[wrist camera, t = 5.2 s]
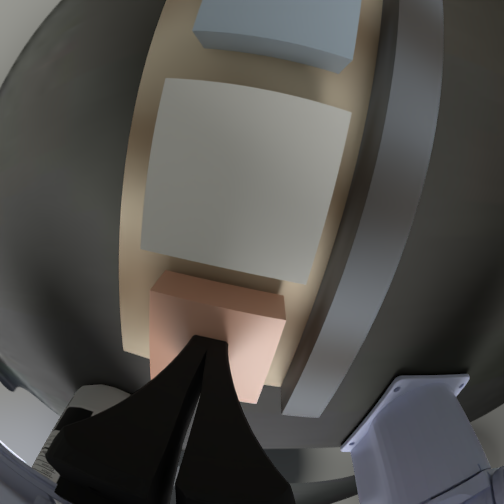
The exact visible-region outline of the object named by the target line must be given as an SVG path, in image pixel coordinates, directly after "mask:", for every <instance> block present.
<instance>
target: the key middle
mask: <svg viewBox="0 0 504 504" xmlns="http://www.w3.org/2000/svg"><path fill="white" fill-rule="evenodd" d="M351 114H352V112H349V111H346V110H343V109H340V108H337V107H333V106H330V105H327V104H323V103H320V102H316V101H312V100H309V99H305V98H301V97H297V96H293V95H288V94H284V93H279V92H275V91H270V90H265V89H259V88H254V87H248V86H242V85H235V84H228V83H221V82H212V81H203V80H192V79H178V78H165V82H164V87H163V91H162V95H161V100H160V104H159V109H158V114H157V119H156V124H155V129H154V135H153V140H152V146H151V152H150V159H149V166H148V173H147V180H146V189H145V198H144V207H143V218H142V231H141V246H140V249H142V250H146V251H151V252H155V253H159V254H164V255H168V256H172V257H177V258H181V259H186V260H190V261H195V262H199V263H204V264H208V265H213V266H217V267H222V268H227V269H231V270H236V271H241V272H245V273H250V274H255V275H260V276H265V277H269V278H274V279H279V280H284V281H289V282H294V283H299V284H304V285H306V284H307V280H308V277H309V274H310V271H311V268H312V265H313V261H314V258H315V255H316V252H317V248H318V245H319V241H320V238H321V235H322V231H323V228H324V224H325V221H326V217H327V213H328V210H329V206H330V202H331V199H332V195H333V191H334V187H335V183H336V179H337V175H338V171H339V167H340V163H341V159H342V155H343V151H344V146H345V142H346V137H347V133H348V128H349V124H350V119H351Z"/></svg>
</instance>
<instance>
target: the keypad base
mask: <svg viewBox="0 0 504 504" xmlns="http://www.w3.org/2000/svg"><path fill="white" fill-rule="evenodd" d="M201 3H202V0H166V3H165V5H164V8H163V10H162V13H161V16H160V18H159V21H158V24H157V27H156V30H155V33H154V36H153V39H152V42H151V46H150V49H149V52H148V56H147V59H146V63H145V66H144V70H143V74H142V78H141V82H140V86H139V90H138V95H137V99H136V104H135V109H134V114H133V119H132V124H131V130H130V136H129V142H128V149H127V156H126V163H125V171H124V180H123V190H122V202H121V216H120V237H119V295H120V316H121V330H122V341H123V350H124V351H127V352H130V353H133V354H136V355H139V356H142V357H145V358H149V359H150V348H149V301H150V289H151V288H152V287H153V285H154V284H155V283H156V282H157V280H158V279H159V278H160V276H161V275H162V274H163V273H164V271H165V270H168V271H172V272H176V273H181V274H185V275H189V276H194V277H198V278H202V279H207V280H211V281H216V282H220V283H225V284H230V285H234V286H239V287H244V288H249V289H254V290H258V291H263V292H268V293H273V294H278V295H283V296H284V302H285V313H286V323H285V326H284V329H283V332H282V335H281V337H280V340H279V343H278V346H277V349H276V352H275V355H274V357H273V360H272V363H271V366H270V369H269V371H268V374H267V377H266V380H265V382H264V385H270V386H277V387H281V413H282V415H289V416H300V417H315V418H319V416H320V415H321V413H322V412H323V410H324V409H325V407H326V406H327V404H328V403H329V401H330V400H331V398H332V396H333V395H334V393H335V392H336V390H337V388H338V387H339V385H340V383H341V382H342V380H343V378H344V376H345V375H346V373H347V371H348V369H349V368H350V366H351V364H352V362H353V361H354V359H355V357H356V355H357V353H358V351H359V349H360V348H361V346H362V344H363V342H364V340H365V338H366V336H367V334H368V332H369V330H370V328H371V326H372V324H373V322H374V320H375V317H376V315H377V313H378V311H379V309H380V307H381V304H382V302H383V300H384V298H385V295H386V293H387V291H388V288H389V286H390V284H391V281H392V279H393V276H394V274H395V271H396V269H397V266H398V263H399V261H400V258H401V255H402V253H403V250H404V247H405V244H406V241H407V239H408V236H409V233H410V230H411V227H412V223H413V220H414V217H415V214H416V211H417V207H418V204H419V200H420V197H421V193H422V189H423V185H424V182H425V178H426V174H427V169H428V165H429V161H430V156H431V151H432V146H433V141H434V136H435V130H436V124H437V117H438V110H439V103H440V94H441V85H442V72H443V54H444V19H443V1H442V0H361V8H360V16H359V23H358V30H357V37H356V43H355V49H354V55H353V60H352V61H351V62H350V63H349V64H348V65H347V66H346V67H345V68H344V69H343V70H342V71H341V72H340V73H339V74H337V73H334V72H331V71H327V70H324V69H320V68H317V67H313V66H309V65H305V64H301V63H297V62H293V61H288V60H284V59H279V58H274V57H269V56H263V55H257V54H251V53H244V52H237V51H228V50H219V49H207V48H204V47H203V46H202V44H201V43H200V41H199V40H198V39H197V37H196V36H195V34H194V33H193V31H192V29H193V26H194V23H195V20H196V17H197V14H198V11H199V8H200V6H201ZM165 78H178V79H192V80H203V81H212V82H221V83H228V84H235V85H242V86H248V87H254V88H259V89H265V90H270V91H275V92H279V93H284V94H288V95H293V96H297V97H301V98H305V99H309V100H312V101H316V102H320V103H323V104H327V105H330V106H333V107H337V108H340V109H343V110H346V111H349V112H352V114H351V119H350V124H349V128H348V133H347V137H346V142H345V146H344V151H343V155H342V159H341V163H340V167H339V171H338V175H337V179H336V183H335V187H334V191H333V195H332V199H331V202H330V206H329V210H328V213H327V217H326V221H325V224H324V228H323V231H322V235H321V238H320V241H319V245H318V248H317V252H316V255H315V258H314V261H313V265H312V268H311V271H310V274H309V277H308V280H307V284H306V285H304V284H299V283H294V282H289V281H284V280H279V279H274V278H269V277H265V276H260V275H255V274H250V273H245V272H241V271H236V270H231V269H227V268H222V267H217V266H213V265H208V264H204V263H199V262H195V261H190V260H186V259H181V258H177V257H172V256H168V255H164V254H159V253H155V252H151V251H146V250H142V249H140V246H141V231H142V218H143V207H144V198H145V189H146V180H147V173H148V166H149V159H150V152H151V146H152V140H153V135H154V129H155V124H156V119H157V114H158V109H159V104H160V100H161V95H162V91H163V87H164V82H165Z"/></svg>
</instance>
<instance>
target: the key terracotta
mask: <svg viewBox="0 0 504 504" xmlns="http://www.w3.org/2000/svg"><path fill="white" fill-rule="evenodd" d="M285 323H286V313H285V302H284V296H283V295H278V294H273V293H268V292H263V291H258V290H254V289H249V288H244V287H239V286H234V285H230V284H225V283H220V282H216V281H211V280H207V279H202V278H198V277H194V276H189V275H185V274H181V273H176V272H172V271H168V270H165V271H164V273H163V274H162V275H161V276H160V278H159V279H158V280H157V282H156V283H155V284H154V285H153V287H152V288H151V289H150V301H149V348H150V375H151V380H152V379H153V378H154V377H156V376H157V375H158V374H159V373H160V372H161V371H162V370H163V369H164V368H165V367H166V366H168V365H169V363H170V362H171V361H172V360H173V359H174V358H175V357H176V356H177V355H178V354H179V353H180V352H181V351H182V349H183V348H184V347H185V346H186V345H187V343H188V342H189V341H190V339H191V338H192V336H194V335H199V336H204V337H208V338H213V339H217V340H222V341H226V342H227V343H228V356H229V364H230V370H231V375H232V379H233V383H234V387H235V390H236V393H237V396H238V399H239V401H241V402H247V403H253V404H256V403H257V401H258V398H259V395H260V393H261V390H262V388H263V385H264V382H265V380H266V377H267V374H268V371H269V369H270V366H271V363H272V360H273V357H274V355H275V352H276V349H277V346H278V343H279V340H280V337H281V335H282V332H283V329H284V326H285Z"/></svg>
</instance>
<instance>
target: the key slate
mask: <svg viewBox="0 0 504 504" xmlns="http://www.w3.org/2000/svg"><path fill="white" fill-rule="evenodd" d="M360 8H361V0H202V3H201V6H200V8H199V11H198V14H197V17H196V20H195V23H194V26H193V29H192V31H193V33H194V34H195V36H196V37H197V39H198V40H199V41H200V43H201V44H202V46H203V47H204V48H207V49H219V50H228V51H237V52H244V53H251V54H257V55H263V56H269V57H274V58H279V59H284V60H288V61H293V62H297V63H301V64H305V65H309V66H313V67H317V68H320V69H324V70H327V71H331V72H334V73H337V74H339V73H340V72H341V71H342V70H343V69H344V68H345V67H346V66H347V65H348V64H349V63H350V62H351V61H352V60H353V55H354V49H355V43H356V37H357V30H358V23H359V16H360Z"/></svg>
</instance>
